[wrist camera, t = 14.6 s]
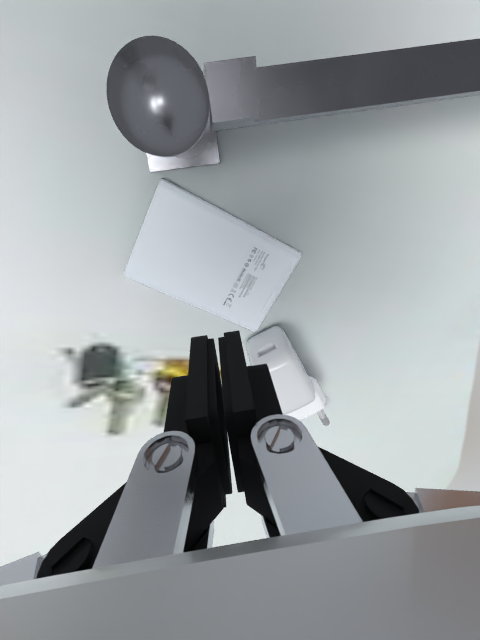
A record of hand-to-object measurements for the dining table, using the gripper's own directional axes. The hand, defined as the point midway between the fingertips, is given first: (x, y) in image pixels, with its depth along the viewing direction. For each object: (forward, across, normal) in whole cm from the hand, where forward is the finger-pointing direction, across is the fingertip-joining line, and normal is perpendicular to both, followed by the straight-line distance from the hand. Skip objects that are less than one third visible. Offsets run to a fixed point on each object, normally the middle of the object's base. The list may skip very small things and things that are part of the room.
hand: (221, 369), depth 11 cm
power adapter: (+17, -6, +13) cm, 22 cm away
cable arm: (+10, -10, -9) cm, 17 cm away
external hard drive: (+18, 0, +1) cm, 18 cm away
